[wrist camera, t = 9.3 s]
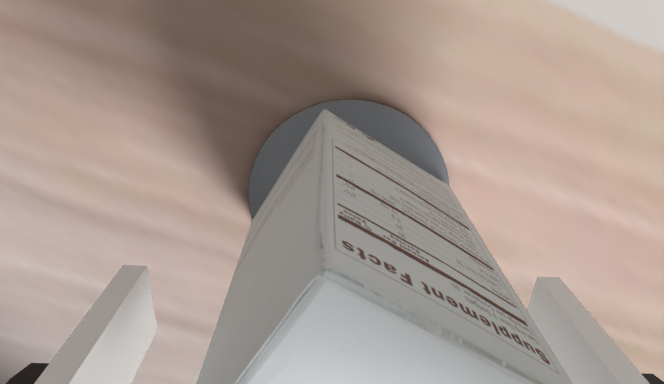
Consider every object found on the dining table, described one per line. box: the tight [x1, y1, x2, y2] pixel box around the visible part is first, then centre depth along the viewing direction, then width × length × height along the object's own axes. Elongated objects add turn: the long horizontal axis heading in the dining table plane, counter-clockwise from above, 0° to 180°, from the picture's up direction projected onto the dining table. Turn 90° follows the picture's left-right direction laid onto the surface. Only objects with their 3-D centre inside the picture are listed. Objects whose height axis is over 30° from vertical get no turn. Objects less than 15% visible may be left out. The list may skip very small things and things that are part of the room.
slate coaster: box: [248, 99, 449, 220], centre depth 21 cm, size 10×10×1 cm
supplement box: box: [197, 109, 573, 384], centre depth 15 cm, size 7×7×13 cm
